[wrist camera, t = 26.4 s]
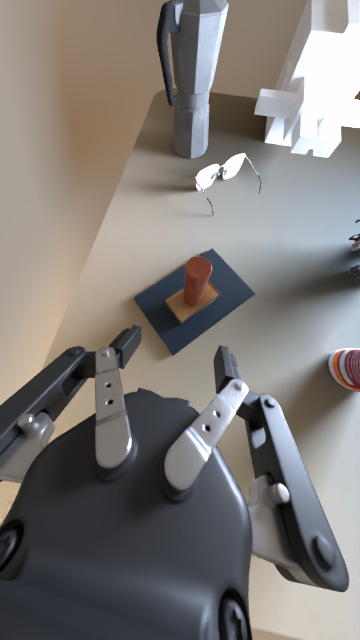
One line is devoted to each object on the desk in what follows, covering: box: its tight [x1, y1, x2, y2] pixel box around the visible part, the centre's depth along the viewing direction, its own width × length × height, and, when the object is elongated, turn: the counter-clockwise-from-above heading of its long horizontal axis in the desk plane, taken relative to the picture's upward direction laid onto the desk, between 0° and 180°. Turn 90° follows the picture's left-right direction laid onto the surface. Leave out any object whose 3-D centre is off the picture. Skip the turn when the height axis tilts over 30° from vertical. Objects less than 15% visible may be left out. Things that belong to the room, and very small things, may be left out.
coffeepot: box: [157, 0, 228, 158], centre depth 26 cm, size 15×9×18 cm, turn 136°
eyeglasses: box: [195, 153, 262, 216], centre depth 30 cm, size 14×8×4 cm, turn 121°
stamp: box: [165, 256, 218, 325], centre depth 18 cm, size 7×4×10 cm, turn 126°
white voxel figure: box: [254, 0, 360, 158], centre depth 30 cm, size 15×25×28 cm
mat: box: [134, 249, 255, 355], centre depth 24 cm, size 18×12×1 cm, turn 126°
